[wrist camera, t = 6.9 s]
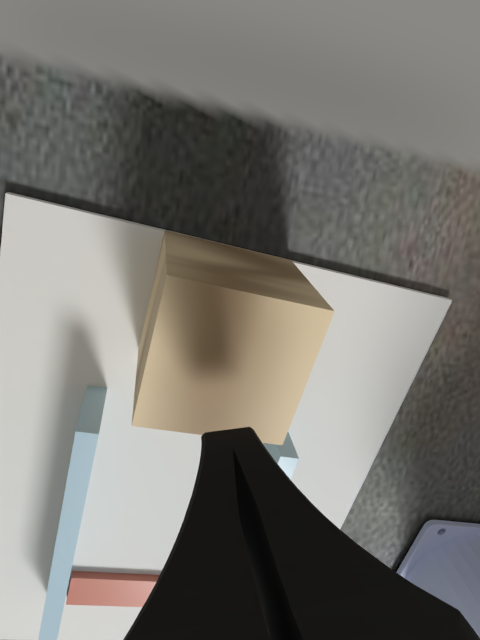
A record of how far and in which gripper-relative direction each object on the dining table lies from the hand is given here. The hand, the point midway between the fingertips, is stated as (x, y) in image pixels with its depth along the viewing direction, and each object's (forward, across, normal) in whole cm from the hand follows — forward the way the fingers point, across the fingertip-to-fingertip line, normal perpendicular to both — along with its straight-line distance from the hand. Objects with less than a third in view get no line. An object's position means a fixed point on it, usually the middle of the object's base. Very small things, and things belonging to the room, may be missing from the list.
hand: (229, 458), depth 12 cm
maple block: (+7, 0, -2) cm, 7 cm away
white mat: (+7, +1, +8) cm, 11 cm away
